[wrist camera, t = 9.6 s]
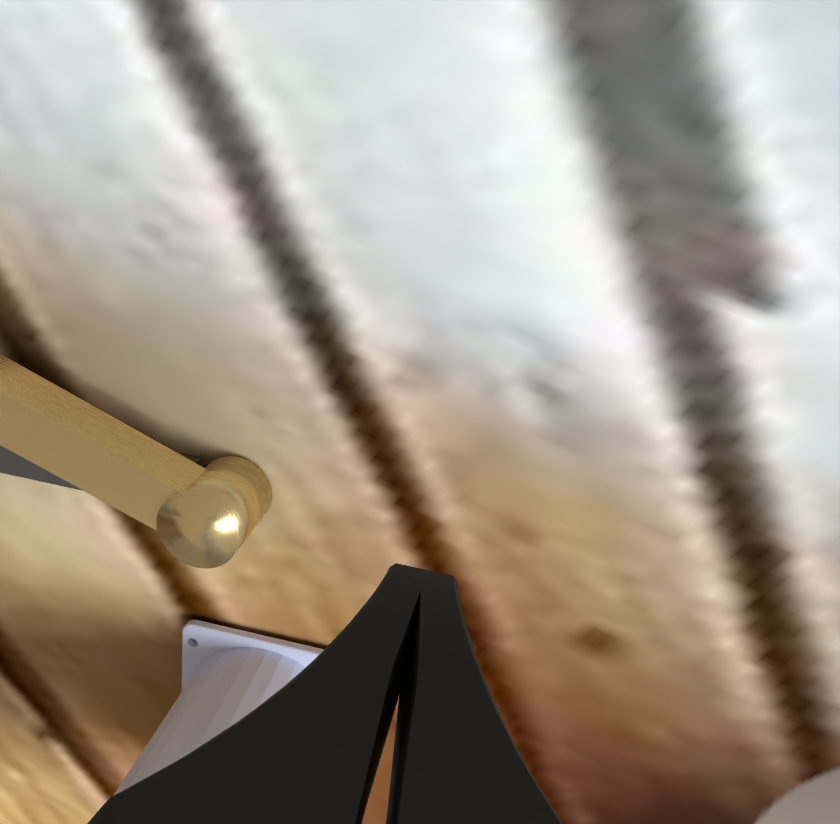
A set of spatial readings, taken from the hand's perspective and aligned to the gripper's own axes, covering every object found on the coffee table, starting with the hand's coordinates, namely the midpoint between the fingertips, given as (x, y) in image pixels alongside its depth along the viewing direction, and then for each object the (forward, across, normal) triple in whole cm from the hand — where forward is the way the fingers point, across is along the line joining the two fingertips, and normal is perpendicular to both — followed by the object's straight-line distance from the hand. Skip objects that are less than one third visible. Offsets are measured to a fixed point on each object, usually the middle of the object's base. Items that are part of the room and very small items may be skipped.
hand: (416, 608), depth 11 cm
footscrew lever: (+9, +13, +2) cm, 16 cm away
